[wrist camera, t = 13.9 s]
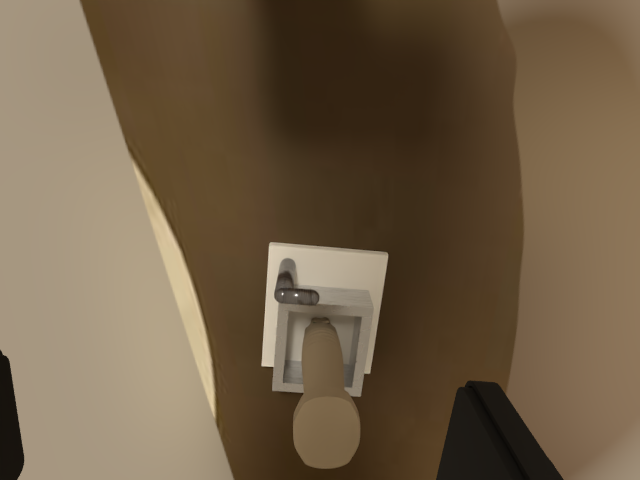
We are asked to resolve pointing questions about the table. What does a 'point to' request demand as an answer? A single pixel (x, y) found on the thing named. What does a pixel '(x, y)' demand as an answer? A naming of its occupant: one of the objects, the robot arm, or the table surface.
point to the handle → (324, 402)
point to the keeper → (321, 308)
